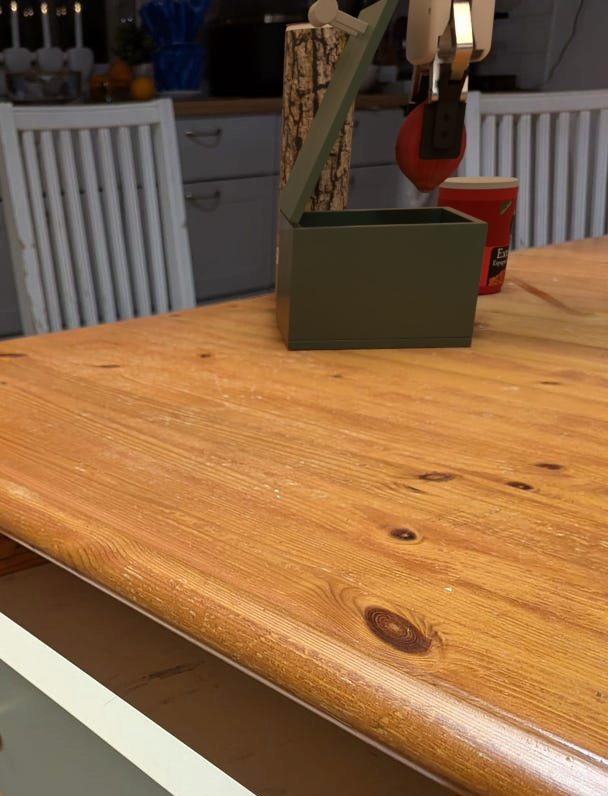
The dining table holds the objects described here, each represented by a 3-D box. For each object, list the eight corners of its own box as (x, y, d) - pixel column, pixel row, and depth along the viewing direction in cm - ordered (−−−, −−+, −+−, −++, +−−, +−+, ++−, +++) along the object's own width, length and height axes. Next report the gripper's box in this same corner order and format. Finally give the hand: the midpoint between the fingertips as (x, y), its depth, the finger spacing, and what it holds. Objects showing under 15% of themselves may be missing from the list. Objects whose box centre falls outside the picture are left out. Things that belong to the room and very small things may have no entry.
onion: (392, 190, 86) (402, 87, 82) (460, 189, 84) (473, 84, 80) (389, 196, 81) (398, 87, 77) (460, 195, 79) (474, 84, 75)
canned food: (503, 296, 101) (520, 181, 96) (424, 294, 104) (437, 182, 98) (503, 284, 108) (519, 175, 102) (429, 282, 110) (441, 176, 105)
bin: (435, 315, 94) (449, 206, 89) (471, 346, 82) (488, 223, 77) (275, 319, 95) (280, 211, 90) (287, 350, 83) (293, 228, 78)
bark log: (333, 311, 97) (354, 19, 85) (267, 309, 99) (278, 23, 87) (344, 299, 103) (365, 23, 90) (282, 297, 105) (294, 27, 92)
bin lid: (369, 14, 82) (314, -13, 81) (398, 0, 70) (335, -31, 70) (284, 208, 90) (233, 185, 89) (298, 224, 78) (240, 198, 77)
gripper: (546, -137, 65) (503, 161, 73) (479, -93, 80) (451, 150, 88) (433, -131, 65) (404, 164, 74) (388, -88, 80) (368, 153, 89)
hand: (430, 154), depth 81 cm, fingers closed on onion, 6 cm apart
